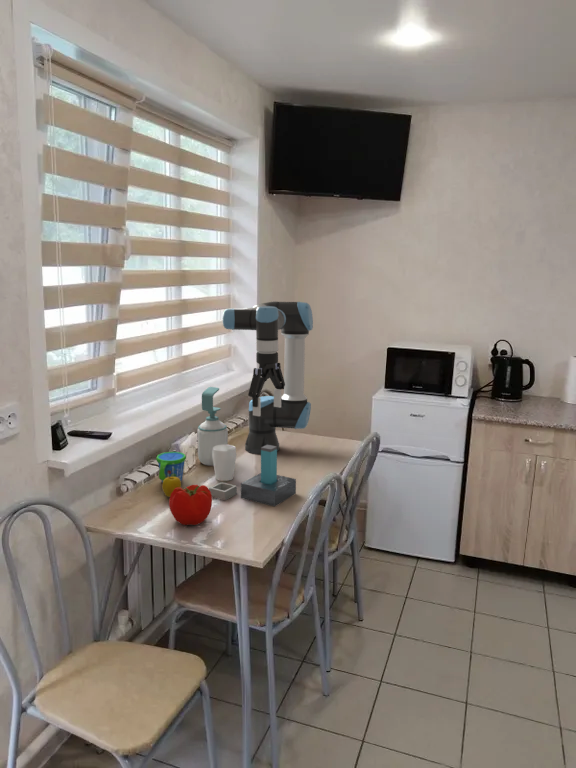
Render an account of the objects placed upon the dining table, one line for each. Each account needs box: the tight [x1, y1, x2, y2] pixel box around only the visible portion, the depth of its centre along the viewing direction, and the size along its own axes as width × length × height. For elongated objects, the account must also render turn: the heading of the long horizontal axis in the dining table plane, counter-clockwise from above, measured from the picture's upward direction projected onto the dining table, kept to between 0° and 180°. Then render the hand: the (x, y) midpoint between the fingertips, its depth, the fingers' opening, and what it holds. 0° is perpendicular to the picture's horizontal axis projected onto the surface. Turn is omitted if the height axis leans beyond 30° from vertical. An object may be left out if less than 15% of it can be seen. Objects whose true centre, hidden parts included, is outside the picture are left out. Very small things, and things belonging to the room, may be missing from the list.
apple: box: [162, 476, 182, 498], centre depth 212 cm, size 6×6×8 cm
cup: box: [212, 444, 237, 482], centre depth 230 cm, size 9×9×12 cm
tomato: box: [168, 484, 213, 526], centre depth 192 cm, size 13×14×12 cm
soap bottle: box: [196, 386, 229, 467], centre depth 246 cm, size 12×12×31 cm
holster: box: [208, 481, 238, 501], centre depth 214 cm, size 7×7×3 cm
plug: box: [260, 445, 278, 485], centre depth 212 cm, size 4×4×17 cm
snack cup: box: [156, 451, 187, 483], centre depth 226 cm, size 16×10×10 cm
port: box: [240, 472, 297, 507], centre depth 214 cm, size 14×14×6 cm
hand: (267, 411), depth 214 cm, fingers open, 13 cm apart
